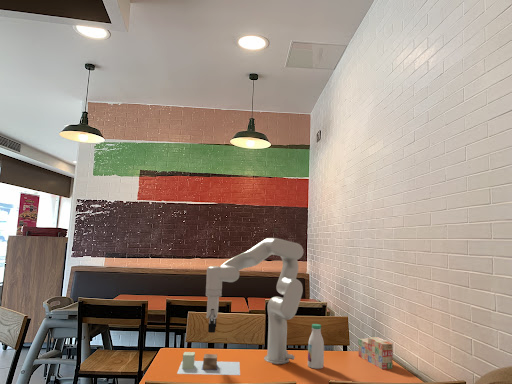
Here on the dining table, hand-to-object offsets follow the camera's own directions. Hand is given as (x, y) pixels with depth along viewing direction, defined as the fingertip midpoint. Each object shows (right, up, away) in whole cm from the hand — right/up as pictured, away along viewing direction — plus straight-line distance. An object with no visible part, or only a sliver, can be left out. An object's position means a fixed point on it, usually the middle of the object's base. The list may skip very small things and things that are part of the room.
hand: (212, 329), depth 184 cm
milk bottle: (+50, -21, +7) cm, 55 cm away
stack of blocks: (+82, -24, +19) cm, 88 cm away
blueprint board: (-1, -18, -2) cm, 18 cm away
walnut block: (-1, -17, -2) cm, 17 cm away
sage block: (-11, -17, -3) cm, 20 cm away
